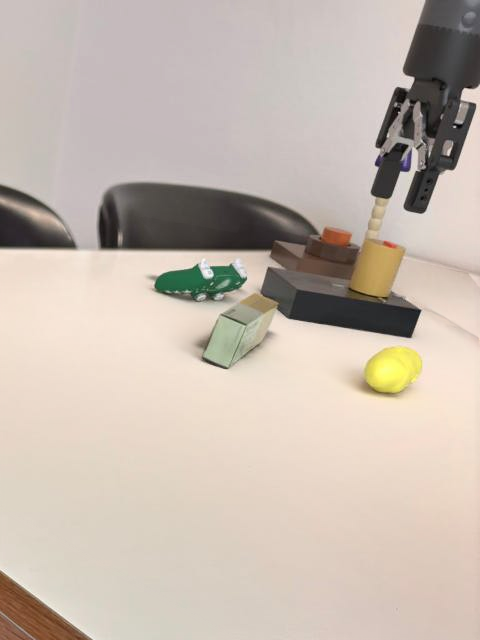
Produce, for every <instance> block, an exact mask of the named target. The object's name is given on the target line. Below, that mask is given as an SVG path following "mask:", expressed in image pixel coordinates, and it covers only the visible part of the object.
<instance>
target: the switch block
mask: <svg viewBox="0 0 480 640" xmlns="http://www.w3.org/2000/svg"><path fill="white" fill-rule="evenodd" d="M321 236H322V234H310V235H309V236H308V238H307V240H306V244H298V243H294V242H293V243H292V242H286V241H282V240H274V241H273V243H272V247H271V250H270V254H269V258H271V260H273V261H275V262H276V263H277V264H279V265H280V266H281V267H283V269H286V270H292V271H298V272H304V273H310V274H316V275H321V276H327V277H333V278H339V279H345V280H351V278H352V275H353V272H354V269H355V266H356V263H357V260H358V257H359V255H358V254H359V252H360V251H361V248H362V246H359V245H358V244H356V243H353V242H351V241H350V243H349V246H342V245H337V244H333V243H329V242H325V241H323V240H321Z"/></svg>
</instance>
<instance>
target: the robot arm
mask: <svg viewBox="0 0 480 640" xmlns="http://www.w3.org/2000/svg"><path fill="white" fill-rule="evenodd" d="M421 9H422V10H421V12H420V16H419V18H418V21H417V24H416V28H415V30H414V33H413V37H412V40H411V42H410V45H409V48H408V52H407V55H406V57H405V60H404V64H403V66H402V73H403V75H404V76H407V77H410V78H413V82H412V84H411V86H410V88H407V87H401V86H396V87H395V88H394V89H393V92H392V95H391V98H390V101H389V103H388V106H387V110H386V111H385V115H384V118H383V121H382V123H381V126H380V129H379V132H378V134H377V138H376V139H375V144H374V146H375V149H379V154H380V156H381V157H382V159H381V162H380V165H379V167H377V171H376V174H375V177H374V180H373V183H372V186H371V188H370V195H371V196H373V197H374V198H376V197H378V198H383V199H389V200H390V199H391V198H392V196H393V194H394V191H395V189H396V185H397V183H398V179H399V177H400V174H401V168H402V166H403V163H402V162H399V161H403V160H404V159H405V157H406V156H407V154H408V153H409V152H410V150H411V149H412V150H413V148H414V149H415V150H416V151H417V170H415V172H414V174H413V177H412V180H411V183H410V185H409V189H408V191H407V194H406V197H405V200H404V203H403V210H404V211H406V212H409V213H414V214H419V215H423V214H424V213H426V212H427V210H428V207H429V204H430V202H431V199H432V196H433V193H434V190H435V189H436V185H437V182H438V180H439V176H442V175H444V173H445V172H446V171H454V170H455V169H456V167H457V166H458V163H459V160H460V157H461V154H462V151H463V149H464V145H465V143H466V139H467V136H468V133H469V130H470V127H471V125H472V122H473V118H474V117H475V114H476V110H477V103H475V102H473V101H467V100H463V99H461V98H462V94H463V92H464V91H463V90H464V89H468V90H475V89H478V88H479V86H480V0H424V3H423V7H422V8H421ZM402 144H403V145H402ZM449 150H450V153H449V155H448V151H449Z"/></svg>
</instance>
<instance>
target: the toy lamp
mask: <svg viewBox="0 0 480 640" xmlns="http://www.w3.org/2000/svg"><path fill="white" fill-rule="evenodd" d="M402 145H403V144H402ZM412 158H413V148H412V149H411V150H410V152H409V153H408V154H407V156H406V157H405V159H404V160H403V161H399V162H402V163H403V166H402V168H401V171H400V173H409V172H411V168H412ZM381 159H382V157H381V156H380V153H378V155H377V157H376V159H375V161H374V166H375V167H376V168H379V165H380V162H381ZM389 201H390V198H389V199H383V198H378V197H375V199H374V204H375V205H373V207H372V209H371V212H370V213H371V216H370V218H369V220H368V222H367V229H366V231H365V233H364V239H366V238H370V239H378V238H379V230H380V229H381V228H382V225H383V218H384V217H385V215H386V209H387V208H386V207H387V205H388V204H389ZM362 245H363V243H362V244H361V246H362ZM359 254H360V251H359ZM359 254H358V255H359Z"/></svg>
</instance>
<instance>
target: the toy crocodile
mask: <svg viewBox="0 0 480 640" xmlns="http://www.w3.org/2000/svg"><path fill="white" fill-rule="evenodd" d="M247 280H248V273H247V270H246V268H245V265H244V264H243V262H242V261H241V259H240V258H239V257H236V258H235V259H234V261H233V262H231V263H229V265H210V263H209V261H208V259H207V258H206V257H203V258H201V259H200V262H198V263H196V264H195V265H194V266H192V267H191V268H185V269H177V270H170V271H165V272H163V273H162V274H160V275H158V277H157V278H156V279H155V282H154V284H153V287H154V289H155V290H156V291H157V290H159V291H162V292H161V293H163V292H165V293H164V294H169V293H171V294H170V295H190V297H192V298H193V299H195V301H197V302H199V301H198V300H201V301H203V300H206V298H207V295H208V296H209V297H210V298H211V299H213V300H214V301H220V300H222V299H223V298H224V296H225V295H224V294H225V293H231V292H233V291H235V290H239V289H241V288H242V287H243V285H244V284H245V283H246V282H247ZM159 291H158V292H159Z"/></svg>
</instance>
